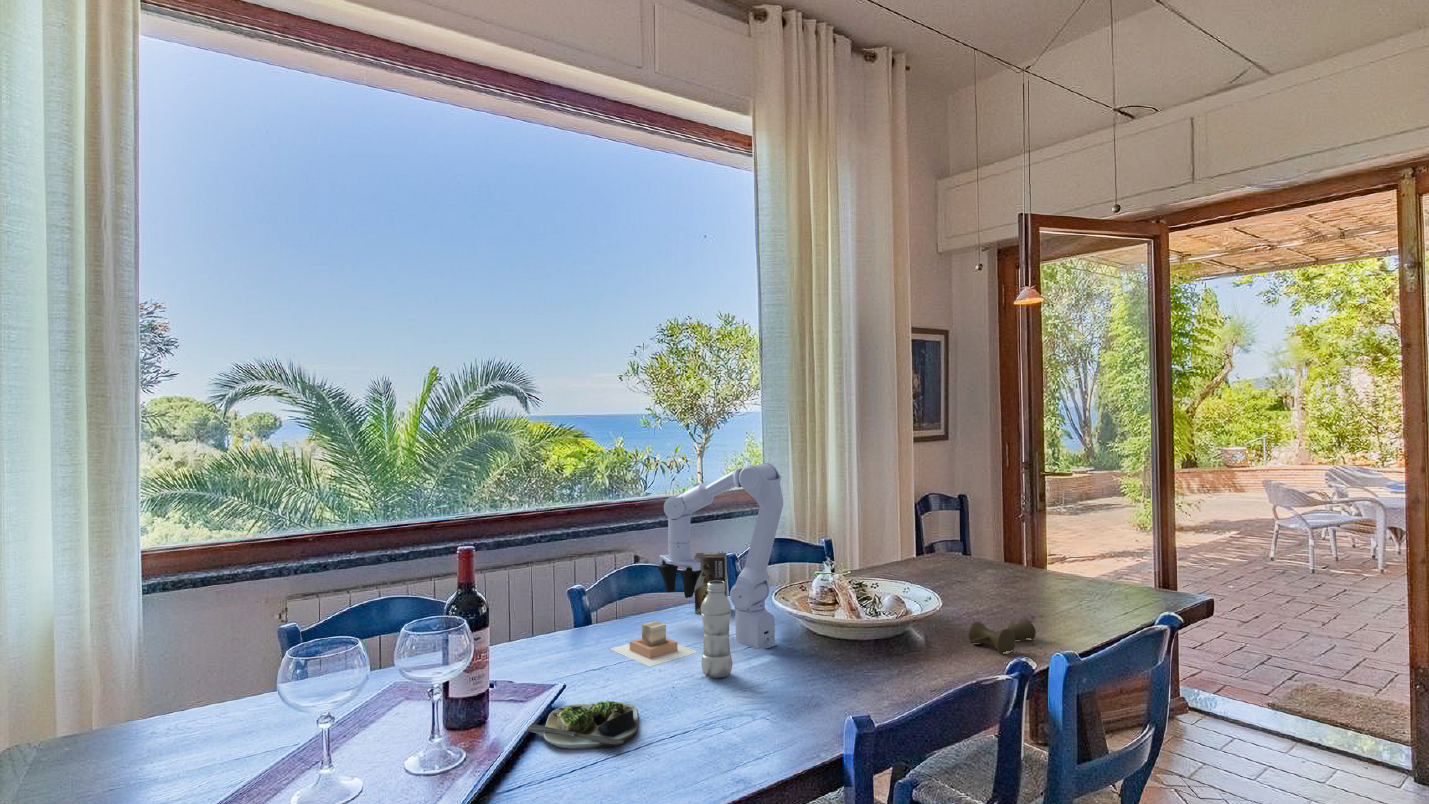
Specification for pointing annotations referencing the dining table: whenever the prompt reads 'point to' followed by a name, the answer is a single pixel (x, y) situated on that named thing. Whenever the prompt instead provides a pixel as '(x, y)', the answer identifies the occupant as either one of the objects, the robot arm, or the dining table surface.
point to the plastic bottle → (716, 631)
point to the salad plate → (590, 725)
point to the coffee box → (709, 574)
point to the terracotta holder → (653, 648)
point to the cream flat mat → (656, 660)
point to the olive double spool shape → (1001, 635)
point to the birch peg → (653, 634)
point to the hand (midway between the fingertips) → (679, 594)
